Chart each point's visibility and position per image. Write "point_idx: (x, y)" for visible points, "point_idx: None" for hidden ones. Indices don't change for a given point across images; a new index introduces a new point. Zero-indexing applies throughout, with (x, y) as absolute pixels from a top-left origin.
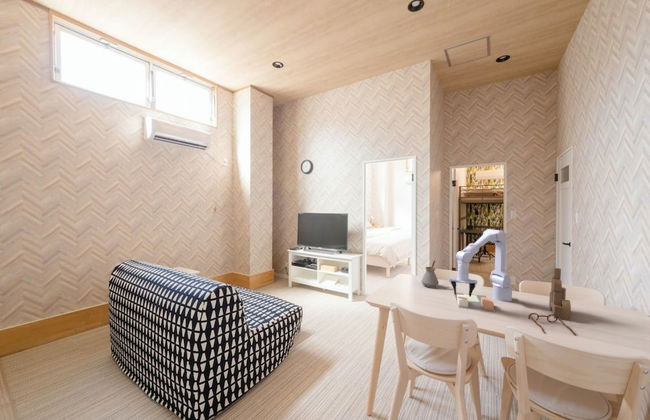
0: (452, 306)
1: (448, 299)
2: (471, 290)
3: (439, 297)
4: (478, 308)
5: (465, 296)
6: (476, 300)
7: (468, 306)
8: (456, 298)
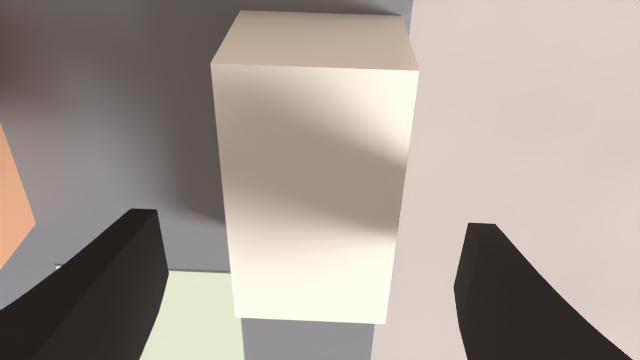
0: (500, 50)
1: None
2: (28, 318)
3: (587, 321)
4: (53, 16)
5: (245, 269)
6: None
7: None
8: None
